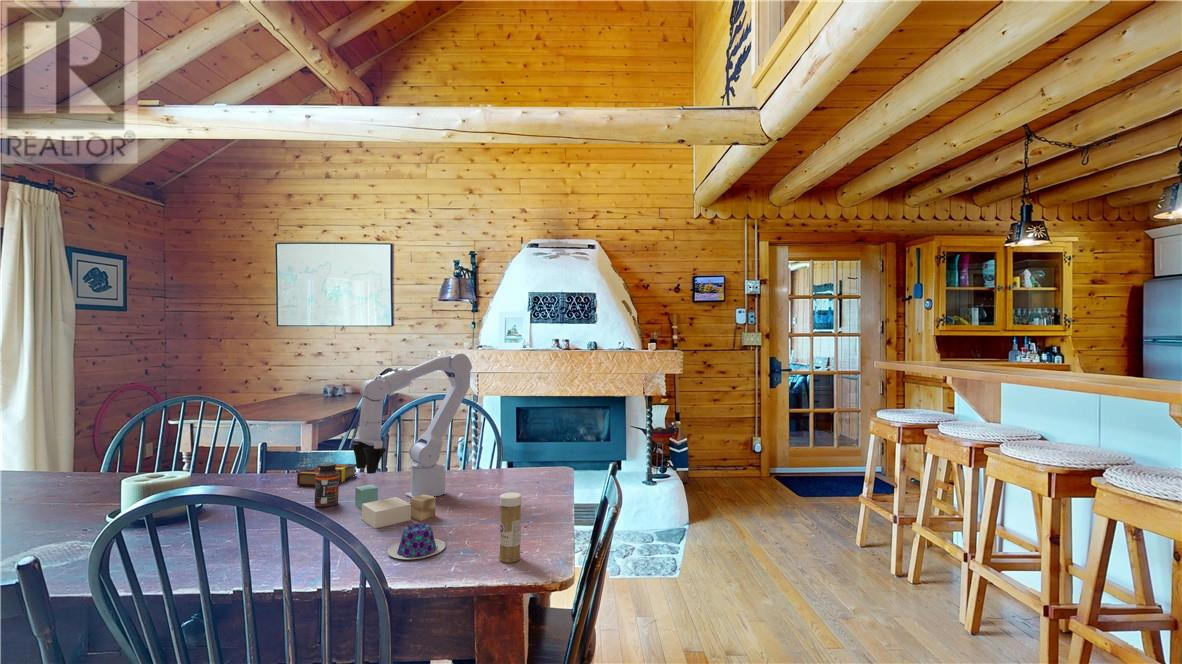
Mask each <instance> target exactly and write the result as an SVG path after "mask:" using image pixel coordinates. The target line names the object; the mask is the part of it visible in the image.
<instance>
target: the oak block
mask: <svg viewBox="0 0 1182 664" xmlns="http://www.w3.org/2000/svg"><path fill="white" fill-rule="evenodd" d="M409 498H410V499H409V504H411V519H412V520H413V519H414V520H417V521H422V522H423V521H425V520H428V519H430V517H431V518H433V516H434V517H436V505H437V504H436V503H437V502H436V501H437V496H435V497H433V496H429V495H420V496H417V497H414V498H411V497H409Z"/></svg>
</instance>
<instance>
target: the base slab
mask: <svg viewBox="0 0 1182 664" xmlns="http://www.w3.org/2000/svg"><path fill="white" fill-rule="evenodd" d="M411 520H412V518H411V504H410V502H408V501H405V500H403V499H401V498H399V497H397V496H394V497H388V498H384V499H380V500H379V499H378V501H373V502H368V503H363V504H362V509H361V521H363V522H365V523H366V524H367V525H369V526H371V527H372V528H374V529H378V528H383V527H387V526H391V525H396V524H401V523H405V522H409V521H411Z"/></svg>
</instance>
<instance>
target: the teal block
mask: <svg viewBox="0 0 1182 664" xmlns="http://www.w3.org/2000/svg"><path fill="white" fill-rule="evenodd" d="M354 499H355V501H354V502H355V503H354V504H355V506H357V507H358V508H359V509H361V510H362V504H363V503H368V502H373V501H378V500H379V487H378V486H375V485H374V484H367V485H360V486H356V487H355V498H354Z"/></svg>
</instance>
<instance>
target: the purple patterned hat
mask: <svg viewBox="0 0 1182 664" xmlns="http://www.w3.org/2000/svg"><path fill="white" fill-rule="evenodd" d="M437 546H438V548H437ZM436 548H437V549H436ZM445 548H446V542H444V541H443V540H440V539H438V538H435V537H434V532H433V528H432V526H431V525H430V524H427V523H413V524H410V525H406V526H405V527H404V528H403V531H402V534H401V537H400V541H399V542H397V543H395V544H392V545H391V546H390V547H389V548H388V549H387V554H388V555H389V557H392V558H395V559H398V560H399V559H400V560H417V559H424V558H428V557H431V556H434V555H437V554H438V553H440V552H442V551H443V550H444V549H445ZM433 552H434V553H433Z"/></svg>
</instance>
